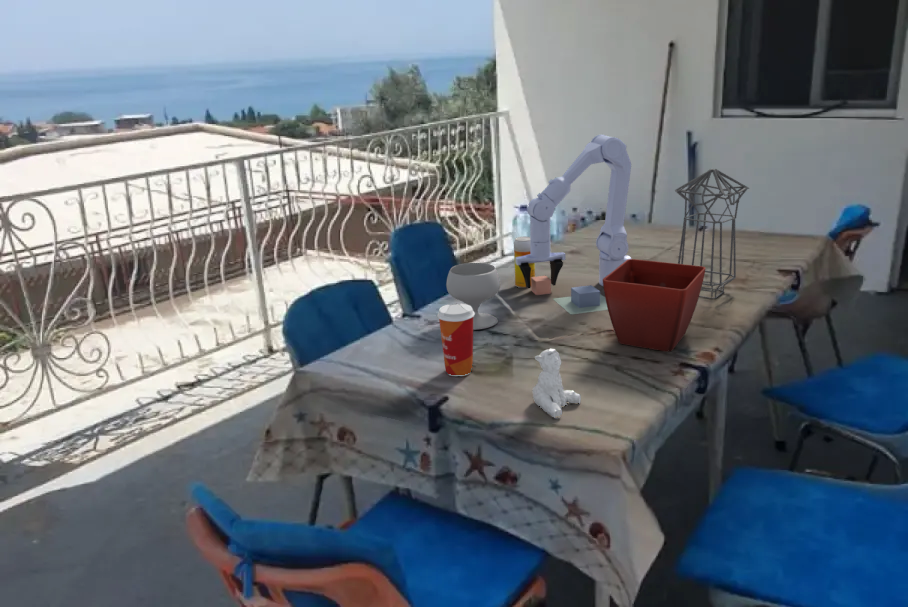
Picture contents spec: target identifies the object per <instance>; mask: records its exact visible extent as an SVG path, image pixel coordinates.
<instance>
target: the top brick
mask: <svg viewBox="0 0 908 607" xmlns="http://www.w3.org/2000/svg"><path fill="white" fill-rule="evenodd" d="M530 290H531V292H532V293H533V294H534V295H535V296H540V295H542V296H543V295H548V294H549V295H550V294H552V284H551V278H550V277H548V276H547V275H539V276H535V277H531V287H530Z"/></svg>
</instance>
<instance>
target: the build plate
mask: <svg viewBox="0 0 908 607" xmlns="http://www.w3.org/2000/svg"><path fill="white" fill-rule="evenodd" d="M552 300H553V301H554V302H556V303H557V304H558V305H559V306H560V307H561V308H562V309H564V310H565V311H566V312H567V313H568V314H569V315H579V314H585V313H586V314H588V313H593V312H601V311H603V312H604V311H608V308H607V303H606V299H605V295H602V294H601V293H600V305H599V306H591V307H583V308H579V307H577V306H576V305H575V304H574V303H573V302H571V295H570V296H564V297H554V298H552Z"/></svg>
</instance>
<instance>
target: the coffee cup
mask: <svg viewBox="0 0 908 607" xmlns="http://www.w3.org/2000/svg"><path fill="white" fill-rule="evenodd" d="M474 315H475V313H474V311H473V309H472V307H471V306H470V305H467V304H466V303H459V304H457V303H452V304H445V305H443V306H441V307H440V308H439V310H438V313H437V315H436V317H437V318H438V320H439V329H440V338H441V344H442V352H443V353H442V354H443V362H444V367H445V373H446V372H447V373H448V374H451V375H465V374H468V373H470V372H471V368H472V369H473V366H472V364H473V358H474V356H473V355H474V352H473V351H474V330H473V317H474ZM447 373H446V374H447Z"/></svg>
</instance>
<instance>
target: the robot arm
mask: <svg viewBox="0 0 908 607" xmlns="http://www.w3.org/2000/svg"><path fill="white" fill-rule="evenodd" d="M627 147H628V146H627V144H626V143H624V141H623V140H621V139H620V138H619V137H615V136H608V135H606V134H598V135H597V134H596V135H595V136H594V137H593V138H591V141H590V142H588V143H587V144H586V145H585V146H584V149H583V150H582V151H581V153H580V154H579V155H578V156H577V158H575V160H574V161H573V162H572V163H571V165H570V166H568V168H567V170H566V171H565V172H564V173H563V174H562V176H557V177H554V178H553V179H552V178H550V180H548V185H547V186H546V187H545V188H544V189H543V190H542V192H539V193H538V194H536V195H537V197H535V198H532V199H531V200H530V201H529V203H528V206H527V207H526V212H527V214H528V215H529V218H530V219H529V220H530V221H529V222H530V224H529V232H530V233H529V237H530V253H531V254H529V255H525V256H520V257H515V263H516V264H517V265H519V267H520V269H521V271H522V274H523V276H524V279H525V283H526V287H525V288H527V289H531V283H530V274H531V267H530V266H529V263H535V264H536V263H545V262H549V266H550V279H551V286H556V284H557V279H558V276H559V274H560V271H561V269H562V268H563V266H564V261H566V253H565V252H564V251H561V252H551V218H552V217H553V216H554V212H555V208H556V207H558V206H559V204H560V203H561V202H562V201H563V200H564V198H565V197H566V196H567V195H568V194H569V193H570V192H571V187H572V186H571V185H572V184H573V183H574V182H575V181H576V180H577V179H578V178H579V177H580V176H581V175H582V174H583V173H584V172H586V170H588V168H589V167H590V166H591V165H596V164H600V163H605V164H606V165H607V166H608V167H609V169H610V179H609V186H608V194H607V196H608V197H607V203H606V212H605V219H604V224H603V225H602V226H601V227H600V231H599V234H598V236H597V238H596V240H595V246H596V248H597V249H598V251H599V257H598V258H599V259H598V260H599V261H598V285H600V286H602V287H603V278H605V277H606V276H607V275H609V274H610V273H611V272H613V271H614V270H615V269H616V268H618V267H619V266H620V265H621V264H623V263H624V262H625V261H626V260H628V259H632V257H631V256H630V255H628V252H629V243H628V239H627V238H628V234H627V231H626V229H625V226H624V225H625V218H626V217H625V216H626V209H627V202H628V193H629V186H630V178H631V170H632V162H631V159H630V156H629V154H628V151H627Z"/></svg>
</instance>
